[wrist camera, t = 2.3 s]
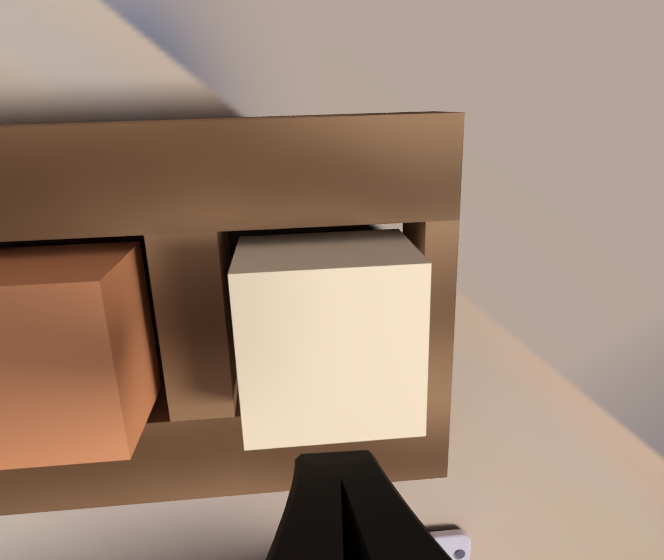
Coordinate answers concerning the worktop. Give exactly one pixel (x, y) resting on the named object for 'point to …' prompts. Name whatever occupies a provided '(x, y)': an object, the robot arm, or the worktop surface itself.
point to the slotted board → (213, 266)
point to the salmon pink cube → (74, 354)
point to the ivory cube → (330, 337)
